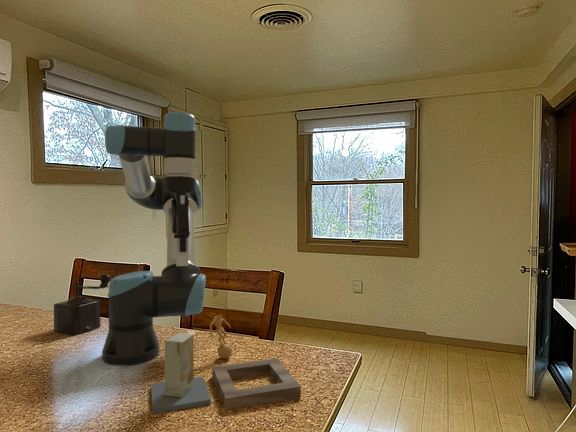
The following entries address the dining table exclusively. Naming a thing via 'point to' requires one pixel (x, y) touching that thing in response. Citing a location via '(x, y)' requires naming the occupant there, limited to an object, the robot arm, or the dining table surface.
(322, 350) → the dining table surface
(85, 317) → the dark grey handled box
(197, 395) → the slate pad
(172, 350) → the skincare box
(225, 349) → the figurine
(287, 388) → the stand
